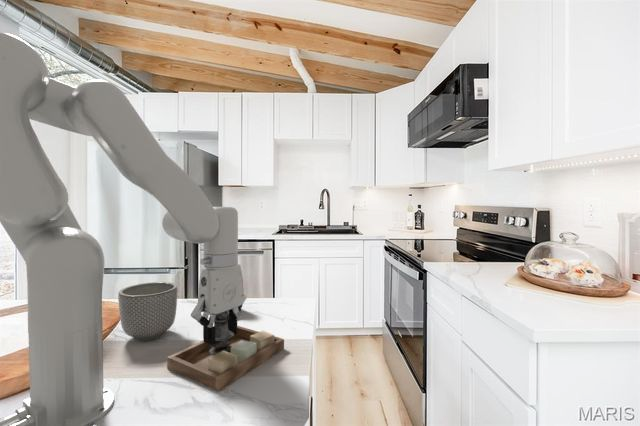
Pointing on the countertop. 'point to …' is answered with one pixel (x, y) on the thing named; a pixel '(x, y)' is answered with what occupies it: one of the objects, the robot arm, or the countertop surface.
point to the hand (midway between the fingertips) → (220, 337)
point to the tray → (196, 356)
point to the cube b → (244, 350)
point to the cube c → (262, 339)
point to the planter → (147, 309)
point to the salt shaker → (221, 334)
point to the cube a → (222, 362)
